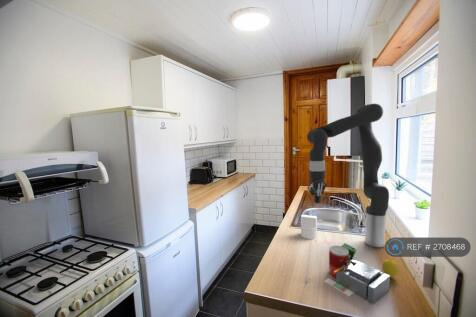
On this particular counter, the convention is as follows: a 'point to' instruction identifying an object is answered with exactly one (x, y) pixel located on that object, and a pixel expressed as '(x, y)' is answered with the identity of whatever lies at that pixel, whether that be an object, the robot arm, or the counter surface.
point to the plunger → (344, 268)
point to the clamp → (350, 249)
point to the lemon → (390, 267)
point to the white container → (308, 226)
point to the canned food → (337, 258)
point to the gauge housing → (364, 281)
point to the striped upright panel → (339, 287)
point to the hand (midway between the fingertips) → (317, 202)
